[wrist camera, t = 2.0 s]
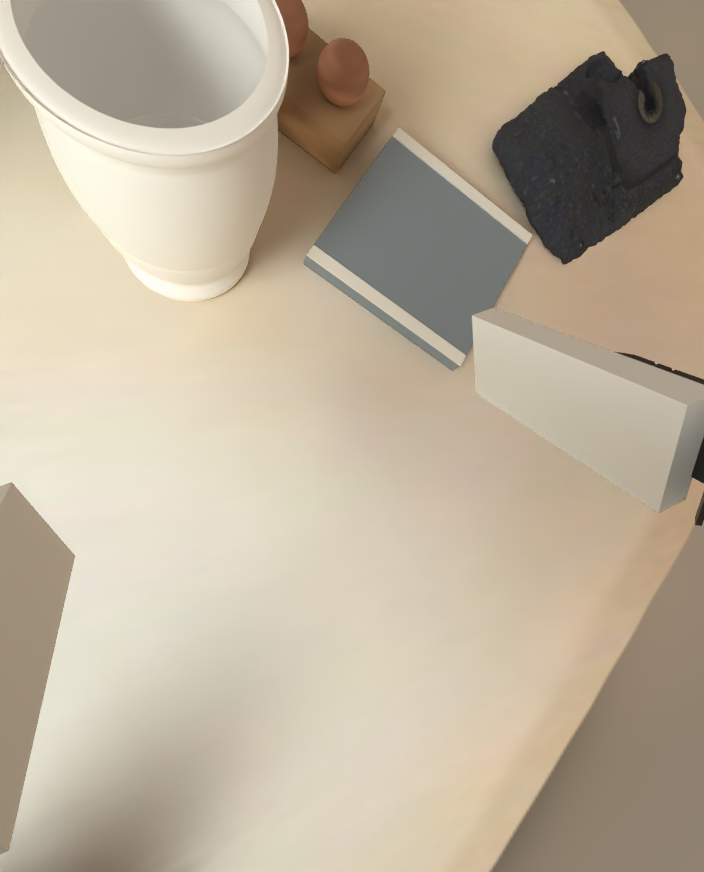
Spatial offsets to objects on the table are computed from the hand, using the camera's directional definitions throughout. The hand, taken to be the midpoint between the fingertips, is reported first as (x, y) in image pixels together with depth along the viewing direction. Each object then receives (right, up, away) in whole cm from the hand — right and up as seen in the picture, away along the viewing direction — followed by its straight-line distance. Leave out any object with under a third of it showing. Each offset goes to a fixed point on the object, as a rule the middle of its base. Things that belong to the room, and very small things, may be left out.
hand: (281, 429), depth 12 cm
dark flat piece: (+24, +26, +29) cm, 46 cm away
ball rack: (-2, +26, +21) cm, 33 cm away
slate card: (+8, +15, +23) cm, 28 cm away
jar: (-9, +13, +18) cm, 24 cm away
